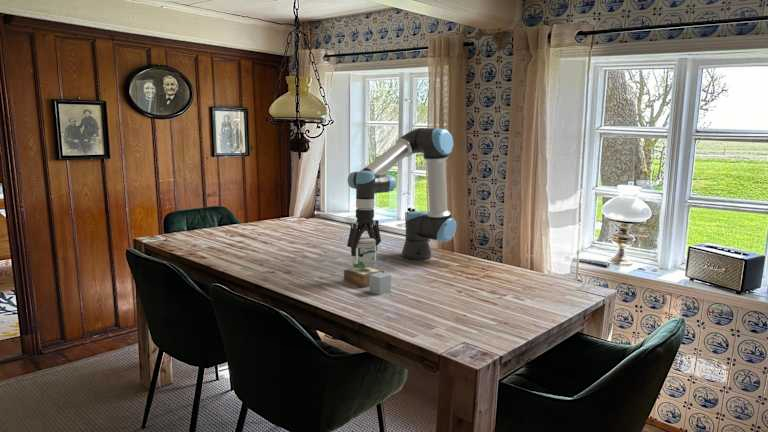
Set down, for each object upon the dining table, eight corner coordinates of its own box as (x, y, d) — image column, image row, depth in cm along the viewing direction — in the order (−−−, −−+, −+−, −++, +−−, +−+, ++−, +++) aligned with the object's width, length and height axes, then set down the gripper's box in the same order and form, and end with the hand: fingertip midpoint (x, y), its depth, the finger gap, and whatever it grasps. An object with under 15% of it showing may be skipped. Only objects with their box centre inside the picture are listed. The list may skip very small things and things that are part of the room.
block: (380, 288, 216) (380, 271, 215) (390, 292, 212) (390, 275, 211) (369, 291, 212) (369, 274, 211) (379, 295, 208) (379, 277, 207)
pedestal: (365, 276, 233) (365, 264, 232) (384, 282, 225) (384, 270, 224) (343, 281, 225) (344, 269, 224) (362, 288, 217) (362, 275, 216)
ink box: (355, 268, 220) (355, 240, 218) (352, 265, 225) (353, 237, 223) (375, 267, 223) (376, 239, 221) (372, 264, 227) (373, 237, 225)
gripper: (378, 205, 230) (377, 255, 234) (338, 209, 215) (337, 263, 218) (390, 207, 225) (389, 259, 228) (350, 212, 209) (349, 267, 213)
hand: (364, 261), depth 223 cm, fingers closed on ink box, 9 cm apart
